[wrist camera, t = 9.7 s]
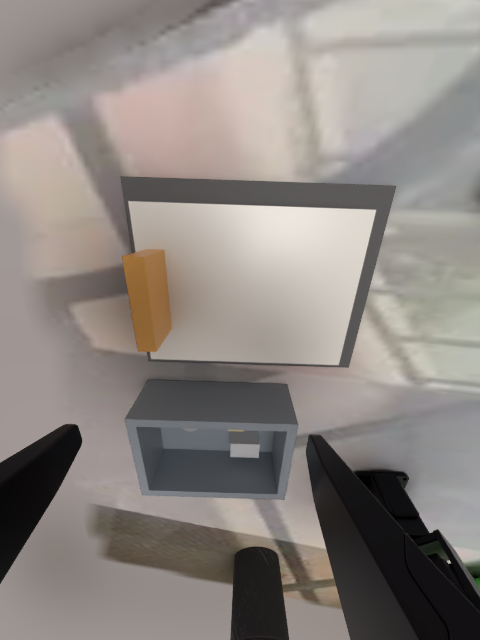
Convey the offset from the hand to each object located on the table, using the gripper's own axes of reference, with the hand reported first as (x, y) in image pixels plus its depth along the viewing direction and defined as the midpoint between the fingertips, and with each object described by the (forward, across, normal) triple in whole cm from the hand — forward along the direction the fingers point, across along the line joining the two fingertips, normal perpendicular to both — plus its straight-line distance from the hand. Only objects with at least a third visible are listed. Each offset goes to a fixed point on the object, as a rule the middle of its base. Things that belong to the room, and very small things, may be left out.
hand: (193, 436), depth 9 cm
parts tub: (+12, +1, +12) cm, 17 cm away
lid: (+12, -2, -3) cm, 12 cm away
